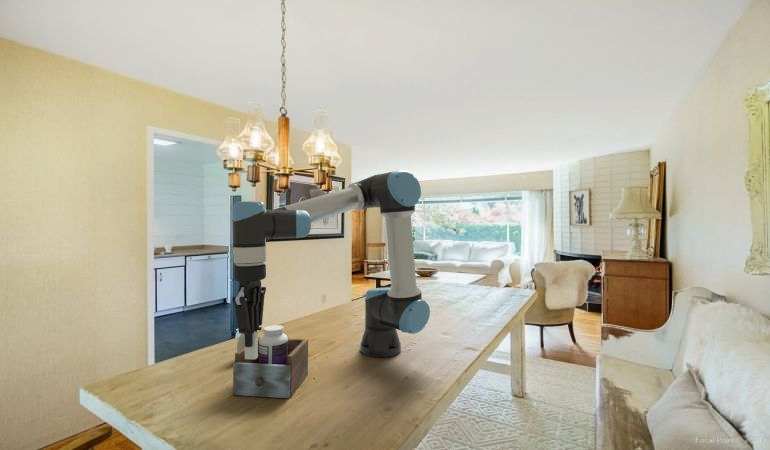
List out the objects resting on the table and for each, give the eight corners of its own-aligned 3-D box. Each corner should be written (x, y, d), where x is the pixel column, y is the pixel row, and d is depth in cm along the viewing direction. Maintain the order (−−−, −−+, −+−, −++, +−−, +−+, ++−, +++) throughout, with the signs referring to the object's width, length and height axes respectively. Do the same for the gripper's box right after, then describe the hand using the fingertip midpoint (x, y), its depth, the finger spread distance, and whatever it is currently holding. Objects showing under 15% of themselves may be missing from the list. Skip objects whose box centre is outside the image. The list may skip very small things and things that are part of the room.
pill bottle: (289, 370, 106) (290, 323, 106) (285, 382, 98) (285, 331, 98) (262, 371, 105) (263, 323, 105) (255, 383, 97) (256, 332, 97)
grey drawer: (305, 376, 106) (305, 348, 106) (287, 400, 91) (287, 368, 91) (256, 373, 107) (256, 346, 107) (230, 396, 92) (230, 365, 92)
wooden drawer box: (307, 374, 107) (308, 339, 107) (291, 397, 93) (291, 356, 93) (258, 372, 109) (258, 337, 109) (234, 393, 95) (235, 353, 95)
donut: (243, 363, 115) (244, 333, 115) (234, 362, 116) (234, 332, 116) (260, 352, 125) (260, 325, 125) (251, 351, 126) (252, 324, 126)
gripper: (248, 260, 93) (249, 347, 93) (220, 267, 80) (222, 368, 80) (275, 260, 92) (276, 348, 93) (251, 267, 79) (253, 369, 80)
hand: (251, 357), depth 86 cm, fingers closed
